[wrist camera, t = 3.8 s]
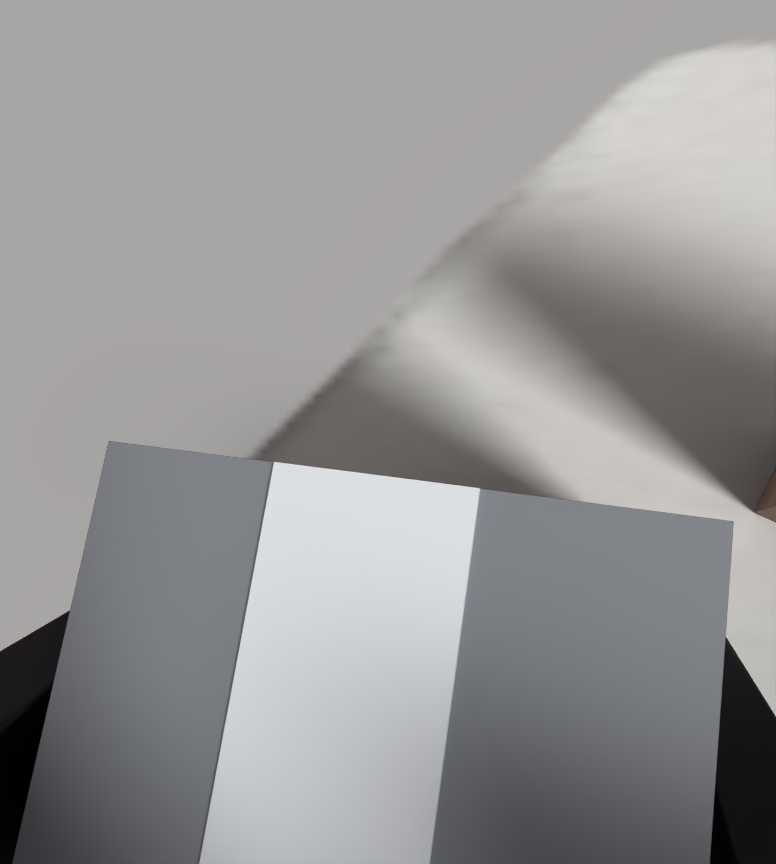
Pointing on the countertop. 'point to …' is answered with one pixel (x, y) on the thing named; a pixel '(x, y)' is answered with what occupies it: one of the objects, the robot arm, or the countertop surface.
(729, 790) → the robot arm
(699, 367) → the countertop surface
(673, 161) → the countertop surface
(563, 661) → the block
